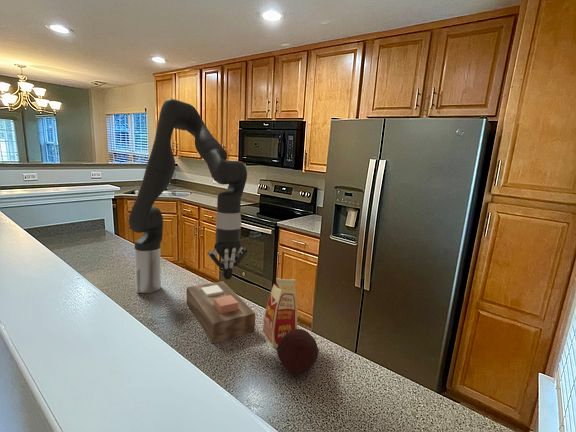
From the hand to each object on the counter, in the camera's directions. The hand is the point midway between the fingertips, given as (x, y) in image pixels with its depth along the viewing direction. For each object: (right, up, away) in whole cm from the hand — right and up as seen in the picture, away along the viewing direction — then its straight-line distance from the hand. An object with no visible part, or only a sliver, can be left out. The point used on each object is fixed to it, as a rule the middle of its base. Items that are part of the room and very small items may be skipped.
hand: (227, 278), depth 100 cm
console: (-5, -15, +8) cm, 18 cm away
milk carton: (+17, -18, -1) cm, 25 cm away
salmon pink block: (-1, -11, +2) cm, 12 cm away
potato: (+22, -22, -15) cm, 34 cm away
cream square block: (-8, -10, +13) cm, 18 cm away
